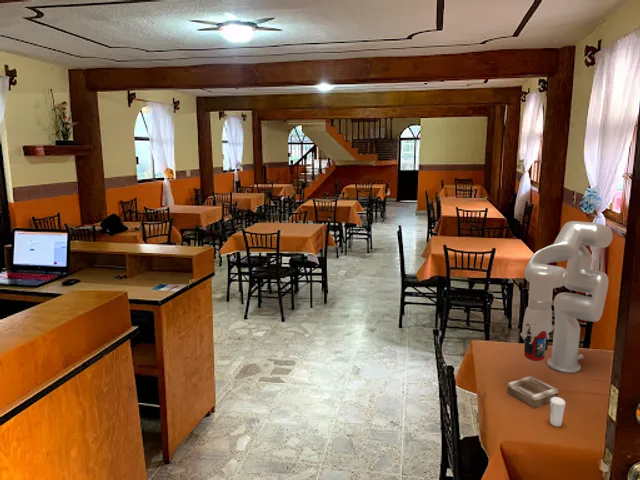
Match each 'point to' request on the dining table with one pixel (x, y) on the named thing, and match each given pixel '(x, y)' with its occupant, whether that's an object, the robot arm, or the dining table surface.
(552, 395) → the white square tray
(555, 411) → the milkshake
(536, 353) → the beverage can
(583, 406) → the dining table surface
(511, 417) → the dining table surface
